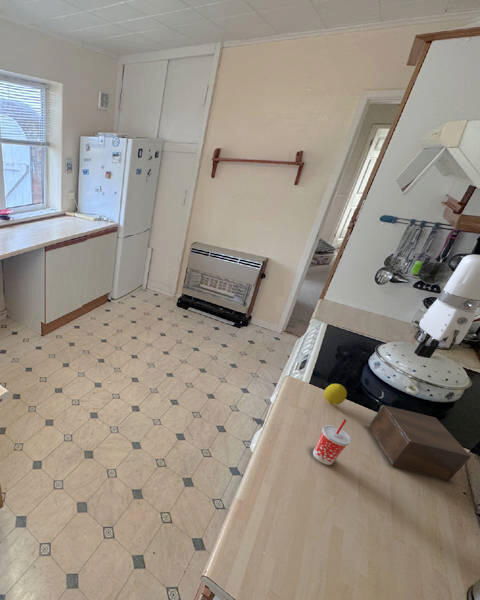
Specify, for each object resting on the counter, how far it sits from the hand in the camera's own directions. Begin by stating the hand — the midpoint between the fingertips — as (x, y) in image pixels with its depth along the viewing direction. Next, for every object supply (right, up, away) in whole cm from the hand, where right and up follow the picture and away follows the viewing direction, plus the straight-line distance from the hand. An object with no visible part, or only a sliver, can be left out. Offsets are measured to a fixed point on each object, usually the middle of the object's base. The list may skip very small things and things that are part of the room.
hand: (421, 355), depth 95 cm
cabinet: (-9, -27, -4) cm, 29 cm away
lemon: (-17, -18, +13) cm, 28 cm away
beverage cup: (-35, -27, -7) cm, 45 cm away
